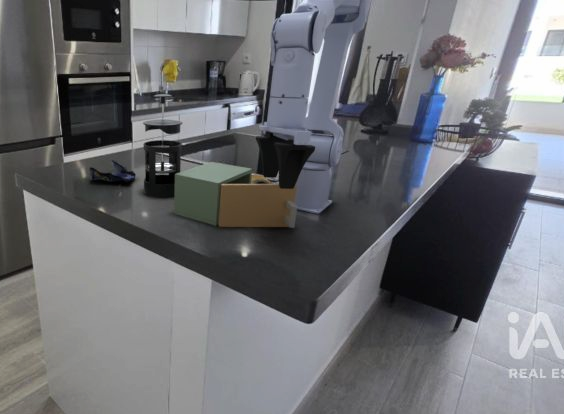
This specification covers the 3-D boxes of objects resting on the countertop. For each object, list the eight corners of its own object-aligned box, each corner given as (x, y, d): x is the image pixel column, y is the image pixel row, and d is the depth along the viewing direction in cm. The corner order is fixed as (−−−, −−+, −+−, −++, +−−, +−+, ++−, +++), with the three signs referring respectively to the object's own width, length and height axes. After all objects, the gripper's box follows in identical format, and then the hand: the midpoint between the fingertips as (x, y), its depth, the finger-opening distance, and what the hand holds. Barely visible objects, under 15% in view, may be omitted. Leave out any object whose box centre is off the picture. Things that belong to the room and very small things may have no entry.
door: (298, 234, 69) (304, 190, 66) (222, 234, 69) (225, 191, 66) (290, 225, 73) (295, 183, 70) (218, 225, 73) (221, 183, 70)
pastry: (234, 183, 99) (236, 169, 98) (260, 182, 100) (261, 168, 99) (247, 194, 91) (248, 179, 89) (274, 193, 91) (276, 178, 90)
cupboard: (248, 207, 83) (252, 168, 80) (215, 226, 73) (218, 183, 70) (209, 197, 89) (211, 161, 86) (174, 214, 79) (174, 174, 76)
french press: (167, 202, 86) (168, 96, 78) (133, 194, 91) (131, 95, 83) (191, 189, 95) (195, 93, 87) (160, 183, 100) (160, 92, 92)
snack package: (111, 173, 110) (82, 181, 102) (113, 152, 108) (83, 158, 99) (143, 187, 104) (115, 197, 95) (147, 165, 102) (118, 173, 93)
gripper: (249, 95, 66) (242, 172, 70) (280, 98, 52) (268, 193, 56) (289, 96, 66) (279, 173, 71) (331, 99, 53) (315, 194, 57)
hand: (277, 182), depth 64 cm, fingers open, 7 cm apart
